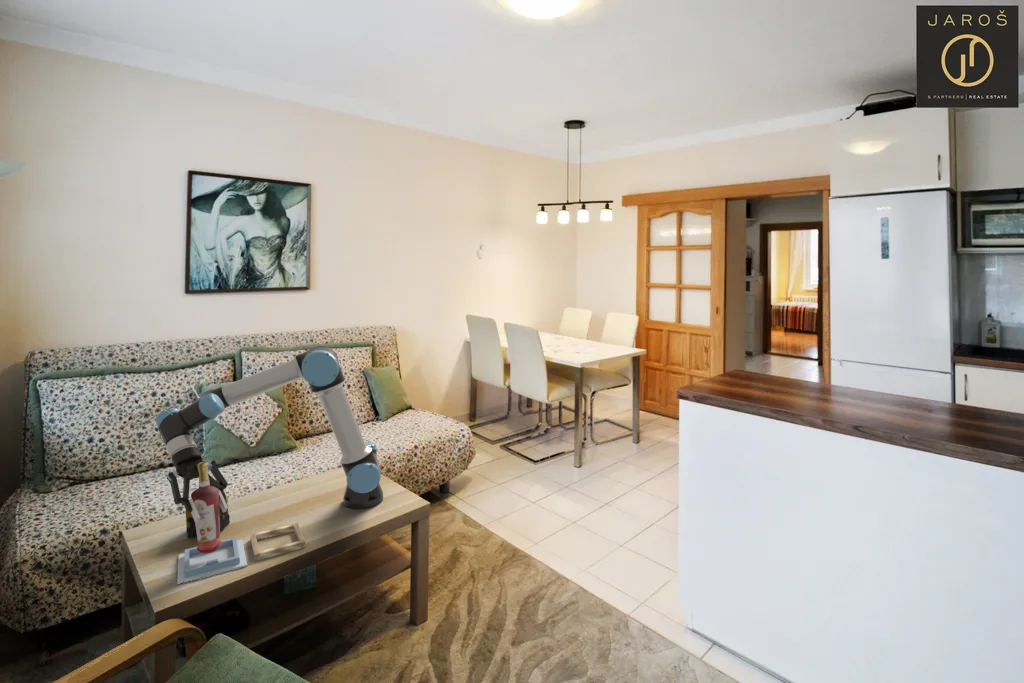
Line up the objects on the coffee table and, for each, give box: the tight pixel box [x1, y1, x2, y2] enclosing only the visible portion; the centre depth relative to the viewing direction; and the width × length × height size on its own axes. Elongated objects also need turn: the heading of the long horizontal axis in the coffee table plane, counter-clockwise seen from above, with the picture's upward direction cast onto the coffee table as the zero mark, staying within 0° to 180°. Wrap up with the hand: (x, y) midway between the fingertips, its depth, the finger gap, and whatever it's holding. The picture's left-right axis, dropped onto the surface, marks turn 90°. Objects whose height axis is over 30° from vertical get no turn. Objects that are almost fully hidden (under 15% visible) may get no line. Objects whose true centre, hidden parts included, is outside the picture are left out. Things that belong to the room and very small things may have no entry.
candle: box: [184, 497, 231, 539], centre depth 180 cm, size 10×10×10 cm
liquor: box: [190, 461, 223, 554], centre depth 159 cm, size 7×7×28 cm
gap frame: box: [249, 522, 307, 561], centre depth 171 cm, size 15×15×2 cm
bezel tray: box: [176, 537, 248, 585], centre depth 161 cm, size 18×18×3 cm
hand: (211, 514), depth 157 cm, fingers closed on liquor, 7 cm apart
